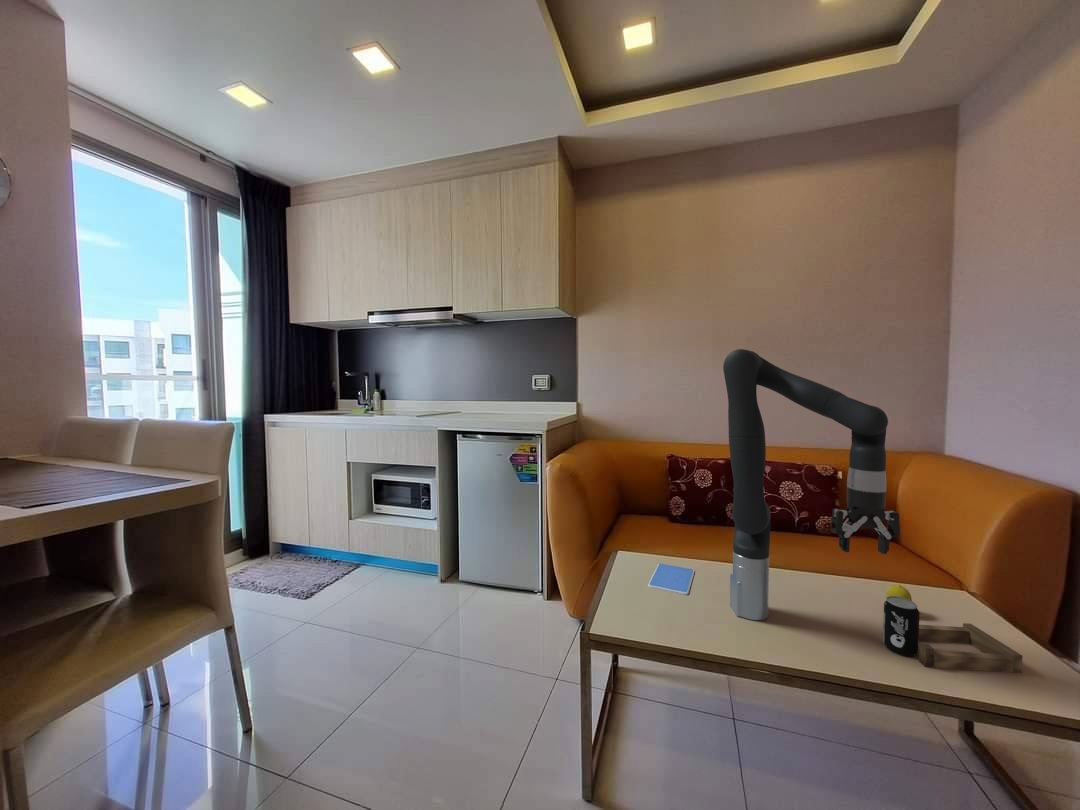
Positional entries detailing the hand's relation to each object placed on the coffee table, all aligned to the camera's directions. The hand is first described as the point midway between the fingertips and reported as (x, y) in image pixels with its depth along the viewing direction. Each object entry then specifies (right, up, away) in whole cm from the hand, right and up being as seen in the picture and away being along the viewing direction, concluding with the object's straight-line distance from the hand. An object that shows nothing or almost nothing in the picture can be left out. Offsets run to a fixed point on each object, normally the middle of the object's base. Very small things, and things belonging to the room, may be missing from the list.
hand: (863, 551), depth 102 cm
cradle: (+19, -24, -1) cm, 30 cm away
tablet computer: (-35, -23, +38) cm, 57 cm away
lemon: (+23, -23, +16) cm, 36 cm away
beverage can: (+9, -24, 0) cm, 26 cm away
